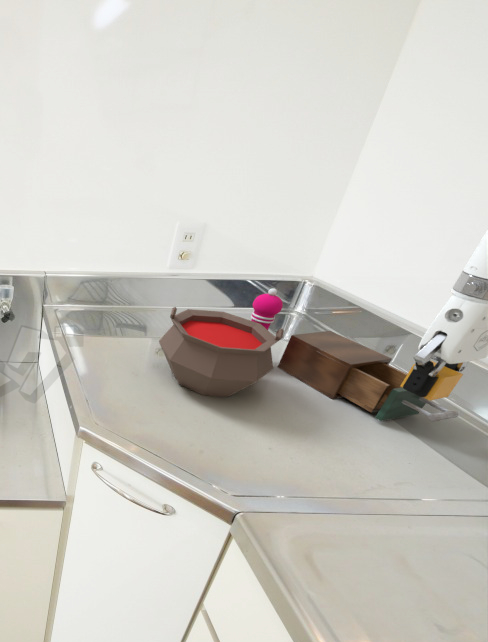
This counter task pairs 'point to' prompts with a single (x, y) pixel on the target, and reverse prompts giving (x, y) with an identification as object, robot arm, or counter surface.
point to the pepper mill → (266, 308)
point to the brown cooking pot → (217, 351)
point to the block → (441, 383)
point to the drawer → (386, 393)
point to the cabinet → (326, 360)
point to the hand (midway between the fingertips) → (424, 389)
